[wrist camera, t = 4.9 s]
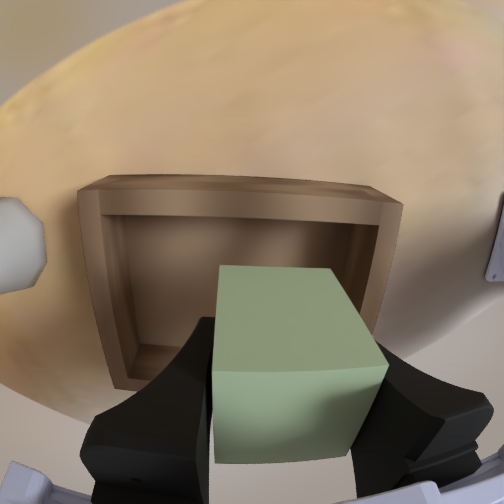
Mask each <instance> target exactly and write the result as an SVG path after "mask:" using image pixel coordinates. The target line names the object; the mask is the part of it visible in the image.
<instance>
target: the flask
mask: <svg viewBox="0 0 504 504" xmlns="http://www.w3.org/2000/svg"><path fill="white" fill-rule="evenodd" d="M46 263H47V258H46V250H45V240H44V228H43V223H42V222H41V221H40V220H39V219H38V218H37V217H36V216H35V215H34V214H33V213H32V212H31V211H30V210H29V209H28V208H27V207H26V206H25V205H24V204H23V203H22V202H21V201H20V200H19V199H18V198H10V197H0V294H3V293H7V292H12V291H17V290H21V289H26V288H30V287H33V286H34V285H35V283H36V281H37V279H38V277H39V275H40V274H41V272H42V270H43V268H44V266H45V265H46Z"/></svg>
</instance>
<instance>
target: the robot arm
mask: <svg viewBox="0 0 504 504" xmlns="http://www.w3.org/2000/svg"><path fill="white" fill-rule="evenodd" d="M485 279H486V280H487V281H488V282H498V281H504V206H503V211H502V216H501V220H500V224H499V229H498V233H497V237H496V240H495V244H494V248H493V251H492V255H491V258H490V262H489V265H488V268H487V271H486V275H485ZM215 319H216V317H201V318H200V319H199V321H198V323H197V325H196V327H195V329H194V330H193V332H192V334H191V335H190V337H189V338H188V340H187V341H186V343H185V344H184V346H183V347H182V348H181V350H180V351H179V352H178V353H177V355H176V356H175V357H174V358H173V360H172V361H171V362H170V363H169V364H168V365H167V366H166V367H165V368H164V369H163V371H161V372H160V373H159V374H158V375H157V376H156V377H155V378H154V379H153V380H152V381H151V382H149V383H148V384H147V385H146V386H145V387H144V388H142V389H141V390H140V391H138V392H137V393H135V394H134V395H132V396H131V397H130V398H128V399H127V400H125V401H124V402H122V403H120V404H119V405H117V406H115V407H113V408H111V409H109V410H107V411H105V412H103V413H101V414H99V415H96V416H95V418H94V420H93V421H92V423H91V425H90V427H89V429H88V431H87V433H86V436H85V439H84V441H83V444H82V447H81V450H80V457H81V460H82V462H83V464H84V465H85V467H86V468H87V470H88V471H89V473H90V474H91V475H92V477H93V478H94V480H95V485H94V489H93V493H92V496H90V495H87V494H83V493H79V492H76V491H72V490H69V489H66V488H63V487H59V486H57V485H54V484H52V482H51V481H50V479H49V478H48V477H47V476H46V475H45V474H43V473H42V472H40V471H38V470H36V469H33V468H30V467H28V466H25V465H22V464H20V463H18V462H15V461H11V463H10V465H9V467H8V469H7V472H6V474H5V477H4V479H3V482H2V485H1V487H0V504H209V443H210V425H211V418H212V411H213V397H212V363H213V347H214V333H215ZM375 342H376V343H377V345H378V347H379V348H380V350H381V352H382V353H383V355H384V357H385V359H386V360H387V362H388V364H389V366H388V369H387V371H386V374H385V376H384V379H383V381H382V383H381V386H380V388H379V390H378V392H377V395H376V397H375V399H374V401H373V403H372V406H371V408H370V410H369V412H368V414H367V416H366V418H365V420H364V422H363V424H362V426H361V428H360V430H359V432H358V434H357V436H356V438H355V440H354V442H353V444H352V446H351V447H350V449H351V455H352V461H353V467H354V474H355V482H356V492H357V499H352V500H347V501H342V502H338V503H334V504H504V444H503V445H502V447H501V448H500V449H499V450H498V452H497V453H495V454H493V455H491V456H489V457H487V458H485V459H483V460H480V459H479V457H478V455H477V454H476V452H475V450H477V448H478V445H477V443H476V441H475V440H476V438H477V437H478V436H479V435H480V433H481V432H482V431H483V430H484V428H485V427H486V426H487V424H488V423H489V421H490V420H491V418H492V416H493V412H494V408H493V406H492V405H491V404H490V402H489V401H488V399H487V398H486V396H485V395H484V394H483V393H481V392H476V391H473V390H468V389H464V388H461V387H458V386H455V385H452V384H449V383H446V382H443V381H441V380H439V379H436V378H434V377H432V376H430V375H428V374H426V373H424V372H422V371H420V370H418V369H416V368H414V367H413V366H411V365H409V364H408V363H406V362H404V361H403V360H401V359H400V358H398V357H397V356H395V355H394V354H393V353H391V352H390V351H388V350H387V349H386V348H384V347H383V346H382V345H380V344H379V343H378V342H377V341H375Z"/></svg>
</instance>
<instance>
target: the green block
mask: <svg viewBox="0 0 504 504" xmlns="http://www.w3.org/2000/svg"><path fill="white" fill-rule="evenodd" d="M388 366H389V364H388V362H387V360H386V359H385V357H384V355H383V353H382V352H381V350H380V348H379V347H378V345H377V343H376V342H375V340H374V338H373V337H372V335H371V333H370V332H369V330H368V328H367V327H366V325H365V323H364V322H363V320H362V318H361V317H360V315H359V313H358V312H357V310H356V309H355V307H354V305H353V304H352V302H351V300H350V299H349V297H348V296H347V294H346V293H345V291H344V289H343V288H342V286H341V285H340V283H339V281H338V280H337V278H336V277H335V275H334V274H333V272H332V270H331V269H328V268H294V267H264V266H236V265H220V268H219V280H218V293H217V305H216V319H215V333H214V347H213V363H212V397H213V431H214V454H215V455H214V456H215V463H222V464H263V463H284V462H298V461H308V460H309V461H310V460H319V459H327V458H335V457H342V456H346V455H347V453H348V451H349V449H350V447H351V446H352V444H353V442H354V440H355V438H356V436H357V434H358V432H359V430H360V428H361V426H362V424H363V422H364V420H365V418H366V416H367V414H368V412H369V410H370V408H371V406H372V403H373V401H374V399H375V397H376V395H377V392H378V390H379V388H380V386H381V383H382V381H383V379H384V376H385V374H386V371H387V369H388Z"/></svg>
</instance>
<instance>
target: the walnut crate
mask: <svg viewBox="0 0 504 504" xmlns="http://www.w3.org/2000/svg"><path fill="white" fill-rule="evenodd" d="M77 196H78V208H79V218H80V228H81V236H82V244H83V251H84V258H85V264H86V271H87V277H88V282H89V288H90V293H91V298H92V303H93V308H94V313H95V317H96V322H97V326H98V330H99V334H100V339H101V343H102V346H103V350H104V354H105V358H106V361H107V365H108V368H109V372H110V375H111V379H112V382H113V385H114V388H115V389H121V390H129V391H137V392H138V391H140V390H141V389H142V388H144V387H145V386H146V385H147V384H148V383H149V382H151V381H152V380H153V379H154V378H155V377H156V376H157V375H158V374H159V373H160V372H161V371H163V369H164V368H165V367H166V366H167V365H168V364H169V363H170V362H171V361H172V360H173V358H174V357H175V356H176V355H177V353H178V352H179V351H180V350H181V348H182V347H183V346H184V344H185V343H186V341H187V340H188V338H189V337H190V335H191V334H192V332H193V330H194V329H195V327H196V325H197V323H198V321H199V319H200V318H201V317H216V305H217V293H218V280H219V268H220V265H236V266H264V267H294V268H328V269H331V270H332V272H333V274H334V275H335V277H336V278H337V280H338V281H339V283H340V285H341V286H342V288H343V289H344V291H345V293H346V294H347V296H348V297H349V299H350V300H351V302H352V304H353V305H354V307H355V309H356V310H357V312H358V313H359V315H360V317H361V318H362V320H363V322H364V323H365V325H366V327H367V328H368V330H369V332H370V333H371V335H372V333H373V330H374V327H375V324H376V320H377V317H378V313H379V310H380V306H381V303H382V299H383V295H384V292H385V288H386V284H387V280H388V276H389V272H390V268H391V264H392V259H393V255H394V250H395V246H396V241H397V236H398V231H399V226H400V221H401V216H402V210H403V205H404V204H402V203H400V202H399V201H397V200H395V199H393V198H391V197H389V196H387V195H386V194H384V193H382V192H380V191H378V190H376V189H374V188H372V187H370V186H363V185H354V184H344V183H334V182H323V181H311V180H299V179H285V178H268V177H250V176H225V175H179V174H147V175H109V176H107V177H105V178H103V179H101V180H98V181H96V182H94V183H92V184H90V185H88V186H86V187H84V188H82V189H80V190H78V191H77Z"/></svg>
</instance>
